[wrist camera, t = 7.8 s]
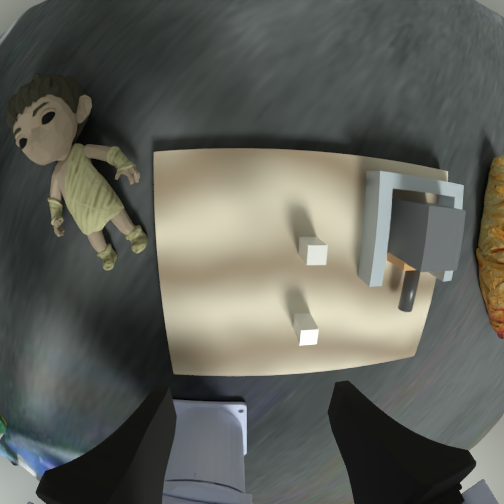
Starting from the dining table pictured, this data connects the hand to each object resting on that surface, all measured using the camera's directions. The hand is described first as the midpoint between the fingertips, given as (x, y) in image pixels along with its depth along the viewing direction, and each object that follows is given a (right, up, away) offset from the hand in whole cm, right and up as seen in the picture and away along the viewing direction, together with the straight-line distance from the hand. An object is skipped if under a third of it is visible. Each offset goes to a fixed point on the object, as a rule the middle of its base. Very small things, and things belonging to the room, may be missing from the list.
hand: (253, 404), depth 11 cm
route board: (+4, +5, +9) cm, 11 cm away
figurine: (-12, +13, +7) cm, 19 cm away
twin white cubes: (+4, +4, +8) cm, 10 cm away
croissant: (+27, +7, +10) cm, 29 cm away
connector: (+12, +6, +8) cm, 15 cm away
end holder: (+12, +8, +8) cm, 16 cm away
